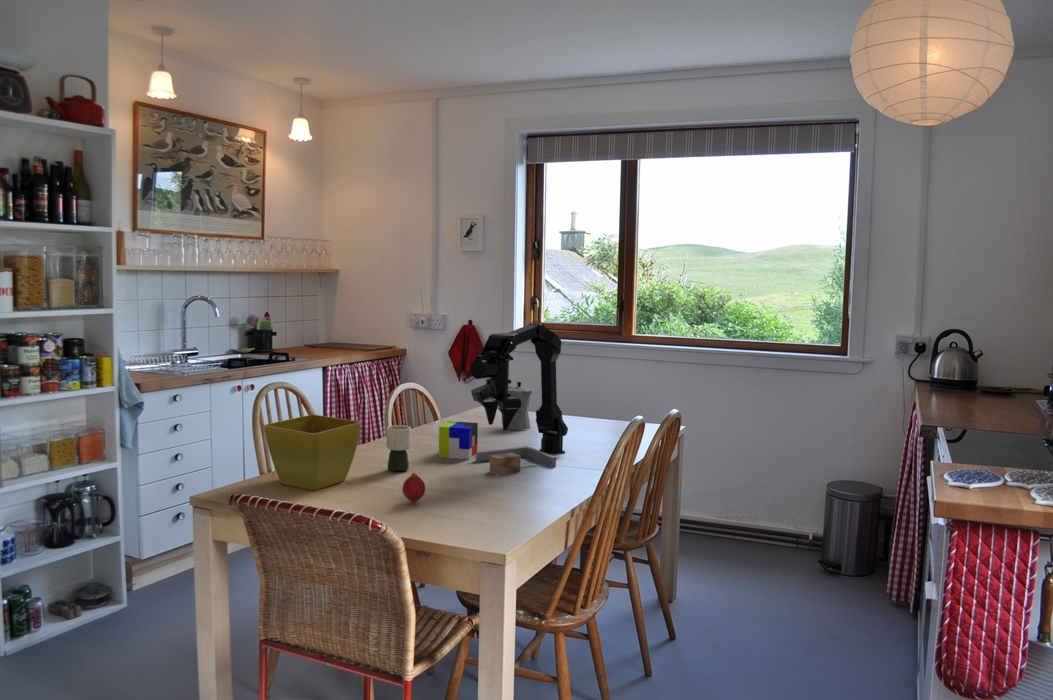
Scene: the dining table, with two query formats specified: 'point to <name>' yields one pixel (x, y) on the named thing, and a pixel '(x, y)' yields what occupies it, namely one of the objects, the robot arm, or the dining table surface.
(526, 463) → the mat
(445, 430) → the puzzle toy
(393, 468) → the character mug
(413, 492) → the onion
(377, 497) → the dining table surface
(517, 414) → the coffeepot
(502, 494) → the dining table surface
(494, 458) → the walnut block
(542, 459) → the grey angle bracket
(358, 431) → the flower pot
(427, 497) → the dining table surface
